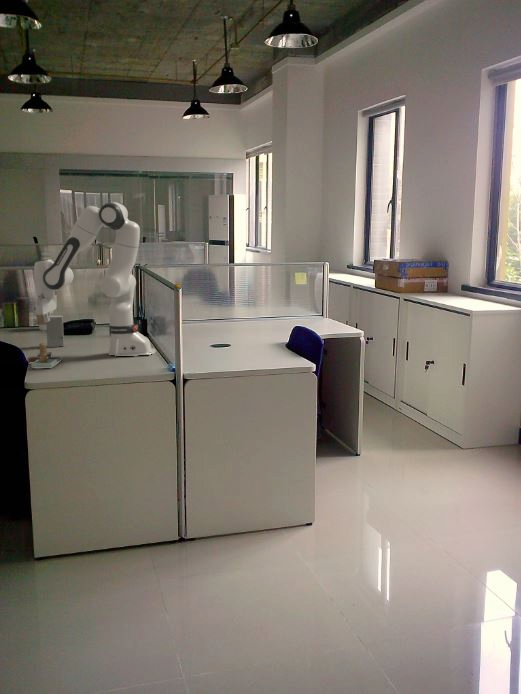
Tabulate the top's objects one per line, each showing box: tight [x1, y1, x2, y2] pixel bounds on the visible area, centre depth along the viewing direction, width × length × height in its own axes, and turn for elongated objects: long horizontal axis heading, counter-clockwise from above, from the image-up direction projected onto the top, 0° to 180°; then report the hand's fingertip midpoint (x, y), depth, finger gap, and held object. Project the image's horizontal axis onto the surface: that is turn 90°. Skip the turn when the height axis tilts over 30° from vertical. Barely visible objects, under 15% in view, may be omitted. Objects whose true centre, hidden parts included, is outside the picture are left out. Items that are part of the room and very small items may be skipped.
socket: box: [47, 356, 62, 362], centre depth 310 cm, size 6×6×2 cm
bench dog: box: [27, 355, 40, 364], centre depth 309 cm, size 6×3×3 cm, turn 89°
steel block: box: [37, 351, 53, 357], centre depth 321 cm, size 6×5×2 cm
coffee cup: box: [34, 307, 54, 332], centre depth 400 cm, size 11×11×15 cm
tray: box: [30, 359, 57, 367], centre depth 302 cm, size 9×8×2 cm
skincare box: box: [46, 315, 65, 348], centre depth 348 cm, size 8×7×16 cm
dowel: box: [38, 342, 48, 363], centre depth 301 cm, size 3×3×10 cm
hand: (47, 321), depth 326 cm, fingers closed
